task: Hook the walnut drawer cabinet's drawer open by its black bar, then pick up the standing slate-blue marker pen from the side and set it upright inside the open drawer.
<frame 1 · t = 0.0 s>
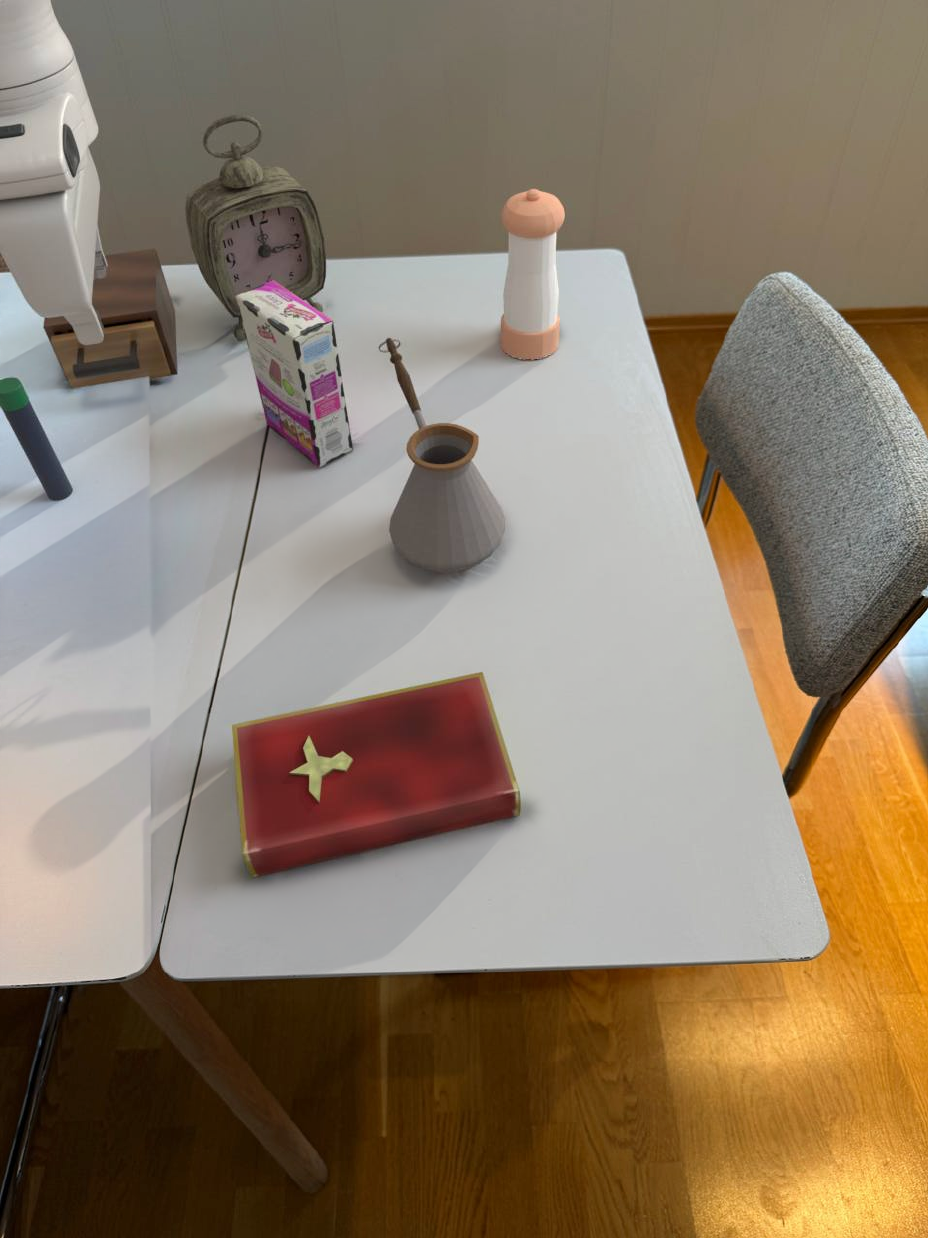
hand: (95, 305, 70), 28 cm above the table, tool pointing down, fingers open, 8 cm apart
candy bar box: (310, 438, 103), on the table
tabletop clock: (272, 319, 119), on the table
coffee pot: (432, 515, 94), on the table
drawer: (113, 339, 109), point 4 cm above the table, slide at 0.5 cm
hardcover book: (376, 785, 74), on the table
pepper shaker: (529, 345, 113), on the table
cabinet: (125, 348, 115), on the table
marker: (65, 502, 97), on the table
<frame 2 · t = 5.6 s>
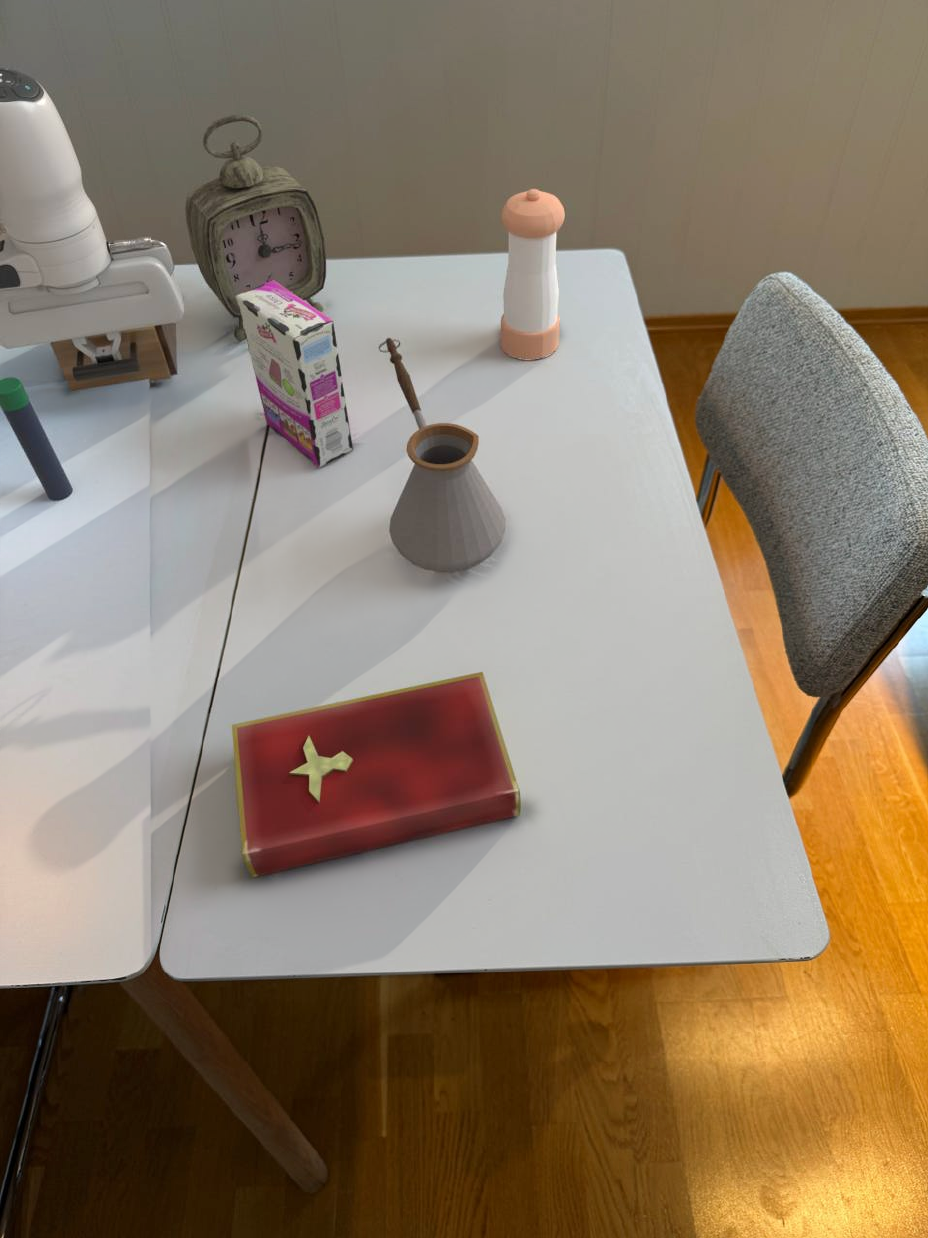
hand: (108, 364, 103), 6 cm above the table, tool pointing down, fingers closed
drawer: (113, 341, 108), point 4 cm above the table, slide at 1.0 cm
everything else where it was.
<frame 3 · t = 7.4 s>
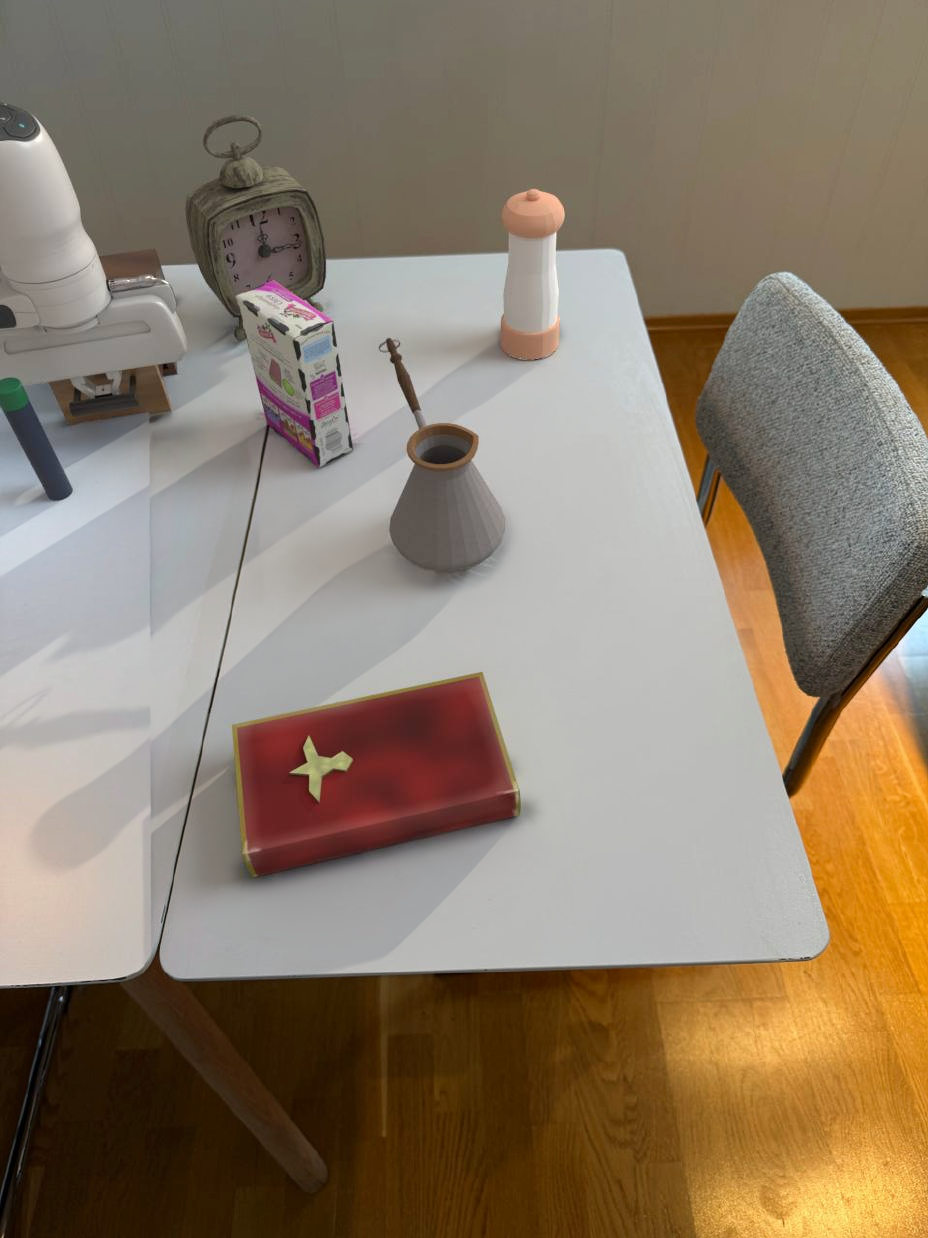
hand: (108, 402, 99), 5 cm above the table, tool pointing down, fingers closed, pressing on drawer
drawer: (111, 373, 104), point 4 cm above the table, slide at 7.7 cm, touching gripper
everything else where it was.
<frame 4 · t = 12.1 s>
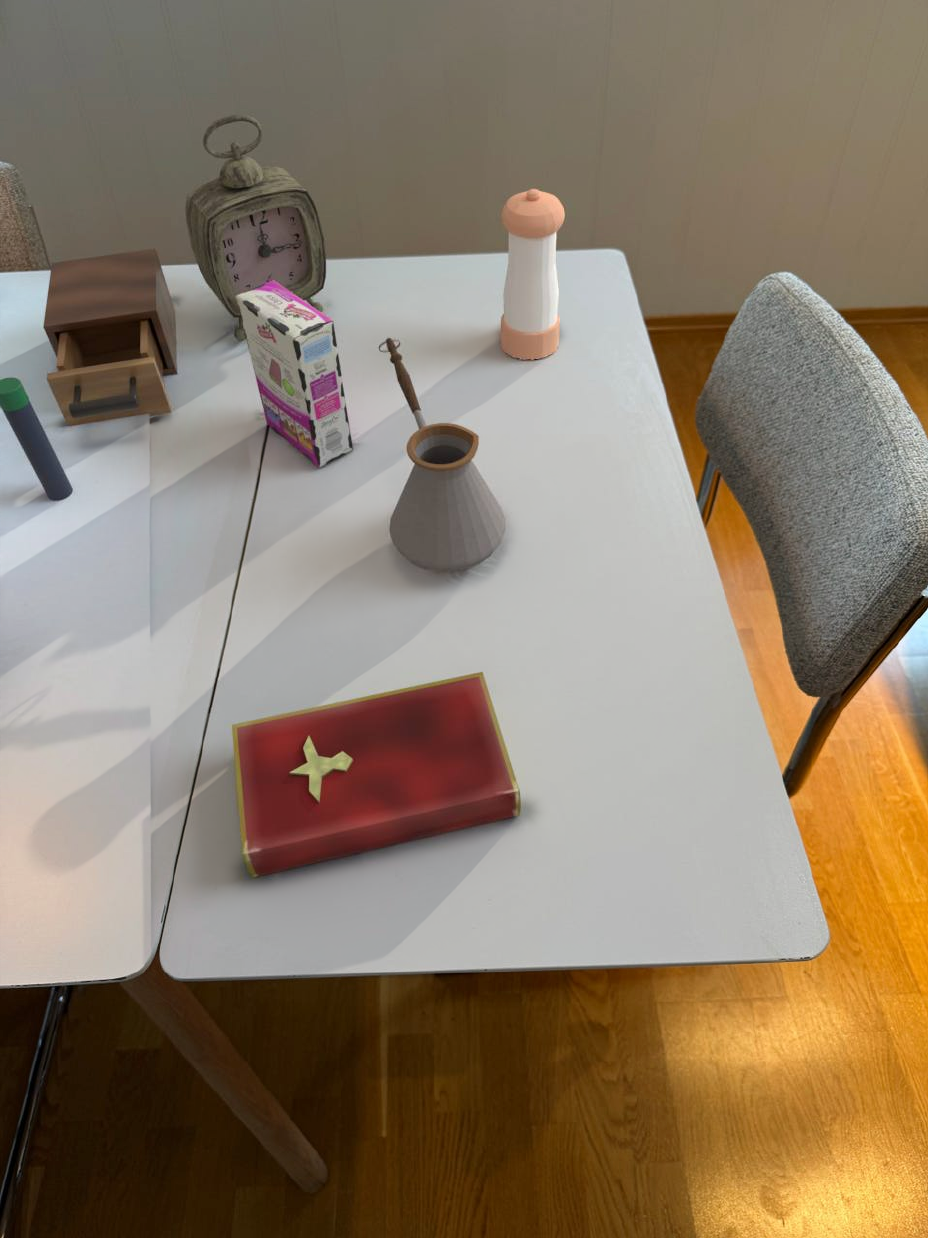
drawer: (111, 374, 104), point 4 cm above the table, slide at 7.9 cm
everything else where it was.
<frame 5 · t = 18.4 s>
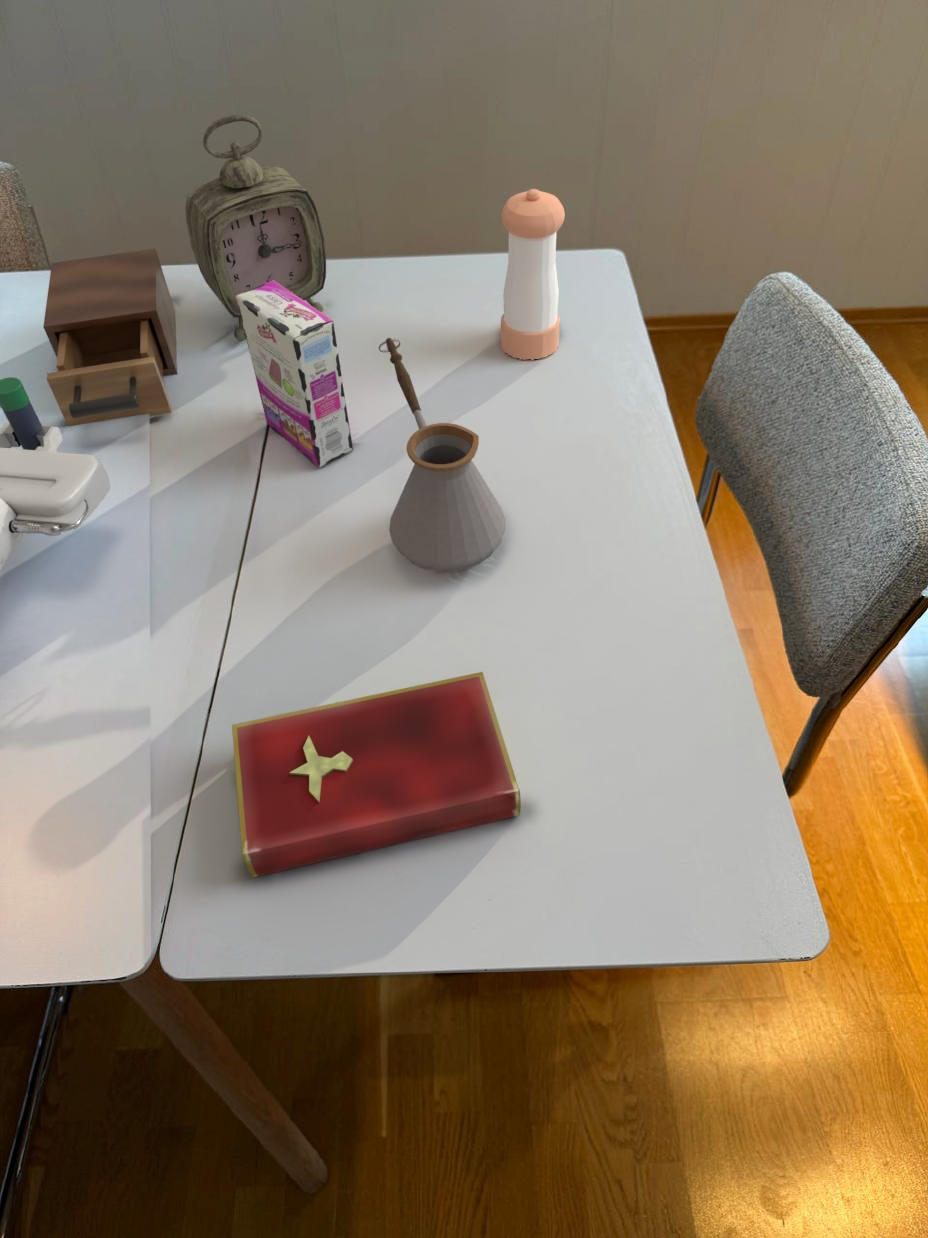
hand: (35, 429, 90), 9 cm above the table, tool horizontal, fingers closed on marker, 2 cm apart
marker: (65, 502, 97), on the table, touching gripper
everything else where it was.
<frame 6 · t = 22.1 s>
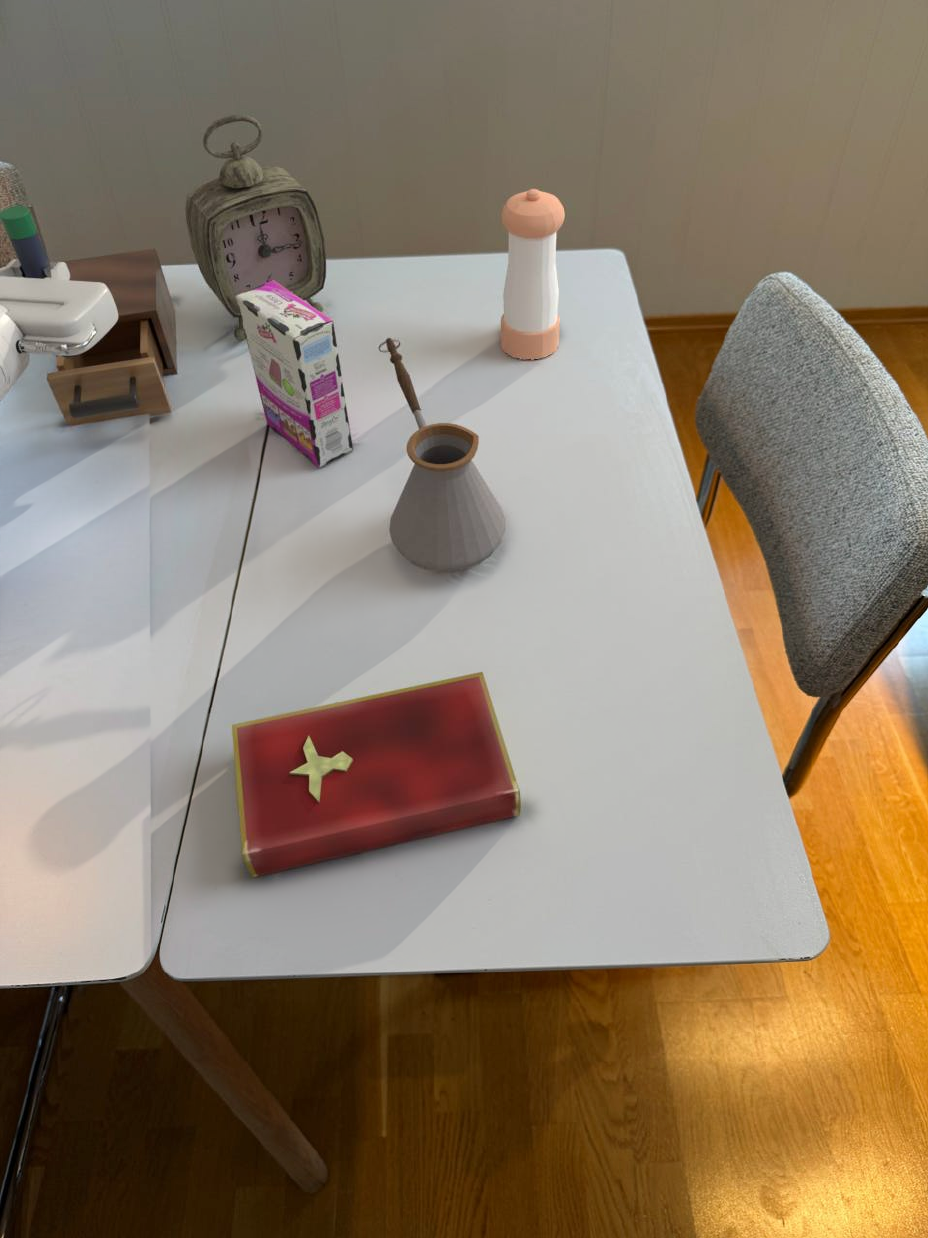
hand: (42, 267, 90), 20 cm above the table, tool horizontal, fingers closed on marker, 2 cm apart
marker: (72, 350, 96), point 11 cm above the table, touching gripper
everything else where it was.
when the fingers open (11 cm above the table, at t = 25.6 s): marker stays where it is, resting on drawer.
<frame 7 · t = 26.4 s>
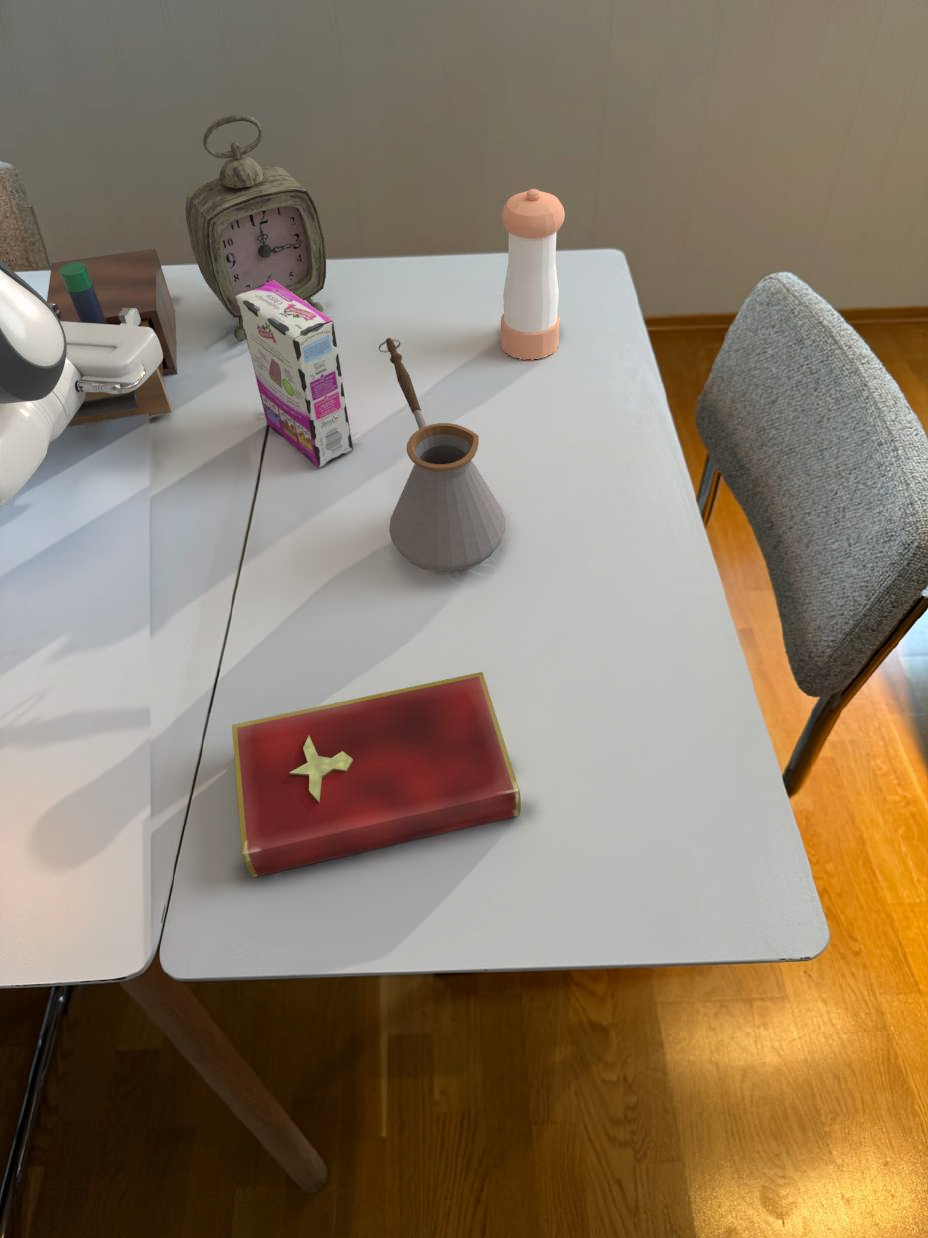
hand: (93, 310, 99), 12 cm above the table, tool horizontal, fingers open, 8 cm apart
drawer: (111, 374, 104), point 4 cm above the table, slide at 7.9 cm, touching marker
marker: (119, 387, 106), point 2 cm above the table, touching drawer
everything else where it was.
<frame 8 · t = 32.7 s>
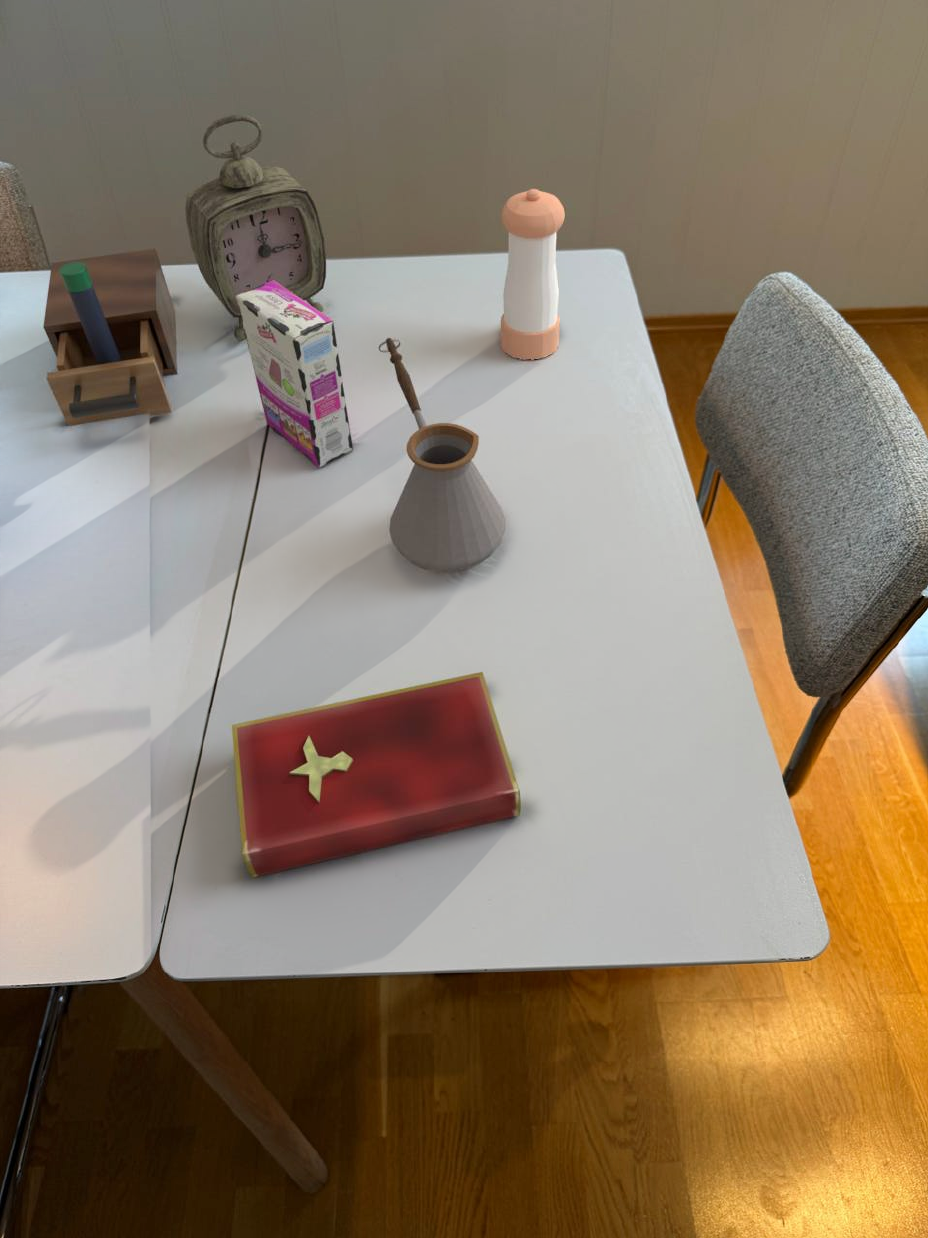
nothing on the table moved.
at the end: drawer slide at 7.9 cm; marker inside the target area in the drawer (0.5 cm from its centre), point 2.1 cm above the cabinet's base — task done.
